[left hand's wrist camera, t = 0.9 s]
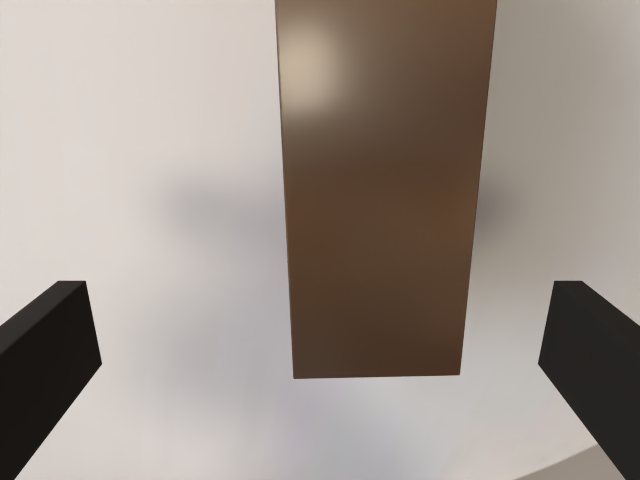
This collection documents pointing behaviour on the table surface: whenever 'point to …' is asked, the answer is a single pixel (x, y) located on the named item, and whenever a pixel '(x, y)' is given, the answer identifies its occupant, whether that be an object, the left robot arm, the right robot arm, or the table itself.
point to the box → (381, 179)
